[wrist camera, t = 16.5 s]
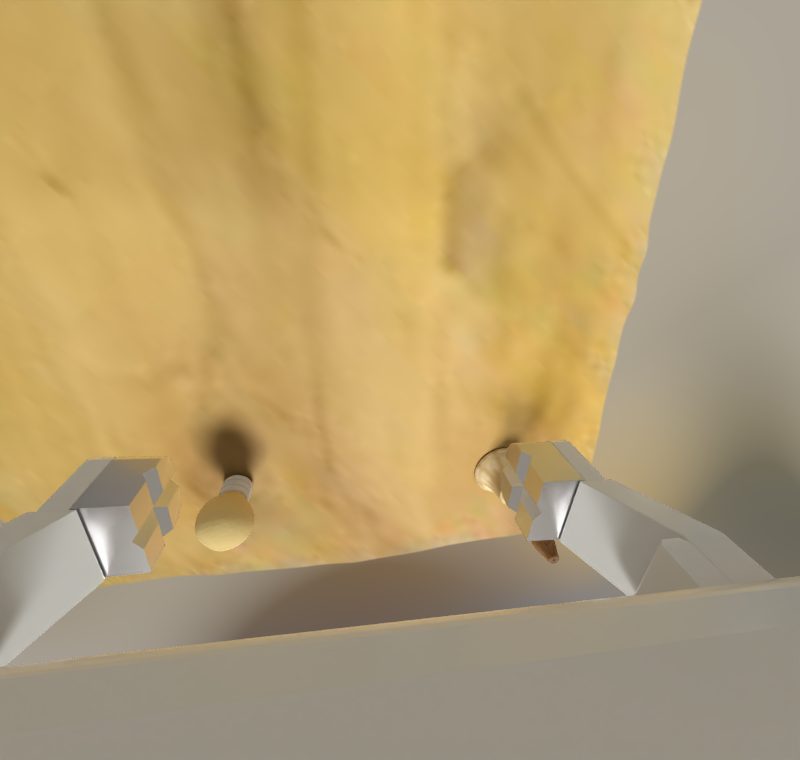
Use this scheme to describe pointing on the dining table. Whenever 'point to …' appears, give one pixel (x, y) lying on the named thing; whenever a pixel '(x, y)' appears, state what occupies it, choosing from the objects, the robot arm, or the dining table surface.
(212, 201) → the dining table surface
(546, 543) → the hand bell
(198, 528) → the light bulb
